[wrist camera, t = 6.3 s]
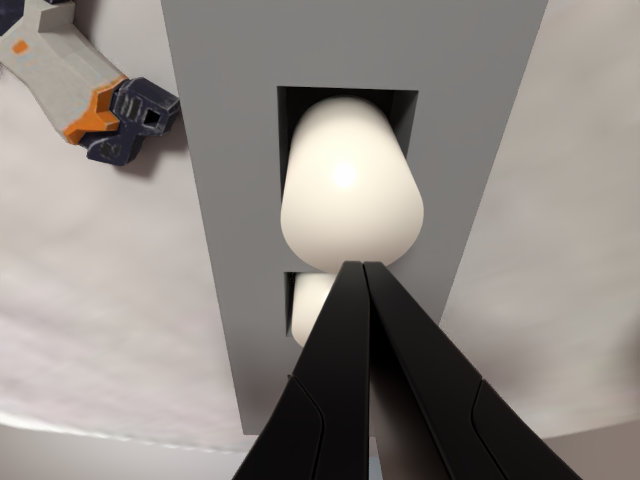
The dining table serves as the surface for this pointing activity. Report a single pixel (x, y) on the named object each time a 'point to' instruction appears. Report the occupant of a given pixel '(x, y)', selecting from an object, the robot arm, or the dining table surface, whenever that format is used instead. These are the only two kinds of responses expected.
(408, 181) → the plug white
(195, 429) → the dining table surface
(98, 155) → the toy gun
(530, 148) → the dining table surface
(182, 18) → the socket board
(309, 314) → the plug white mid
